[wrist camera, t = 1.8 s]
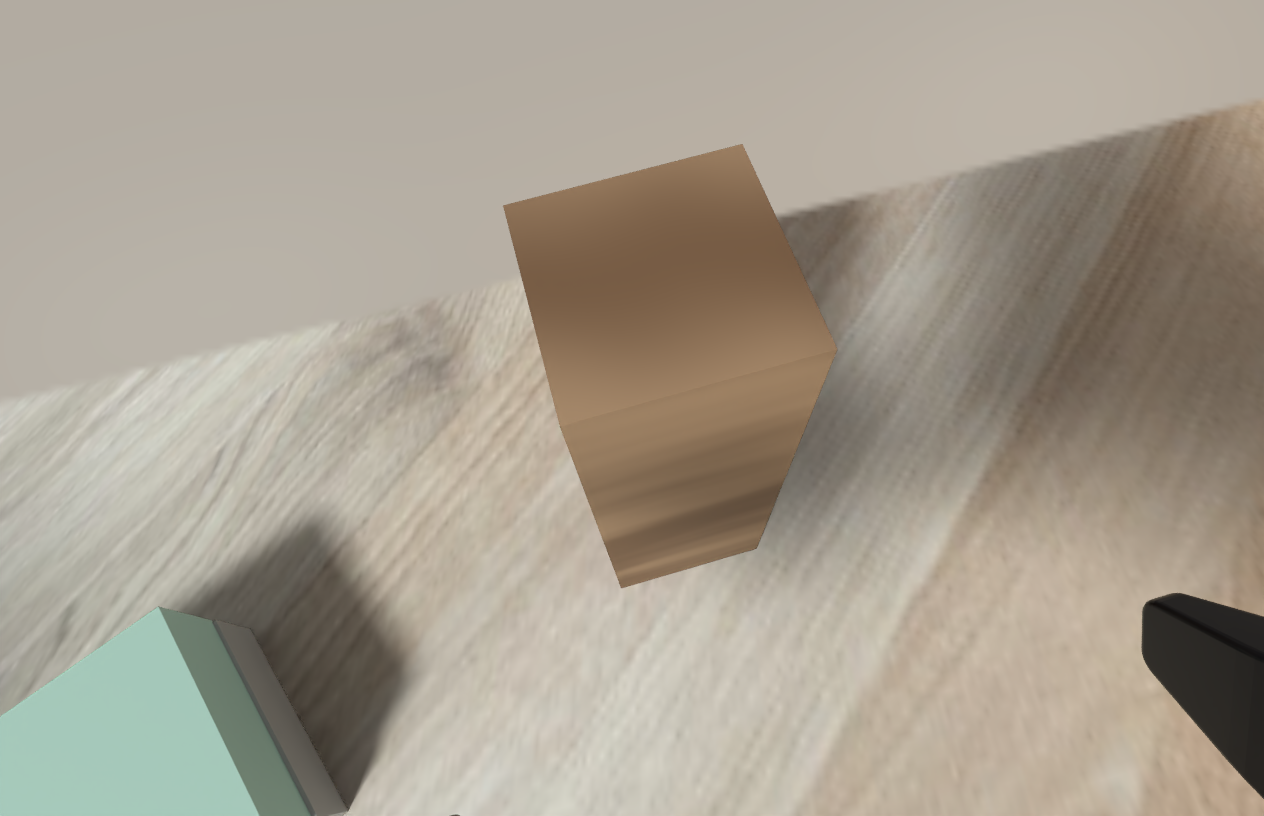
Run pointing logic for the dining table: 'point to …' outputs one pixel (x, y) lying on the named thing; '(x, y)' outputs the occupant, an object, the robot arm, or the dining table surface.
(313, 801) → the grey slab
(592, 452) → the walnut pillar block
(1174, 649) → the robot arm
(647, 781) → the dining table surface
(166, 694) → the teal slab
